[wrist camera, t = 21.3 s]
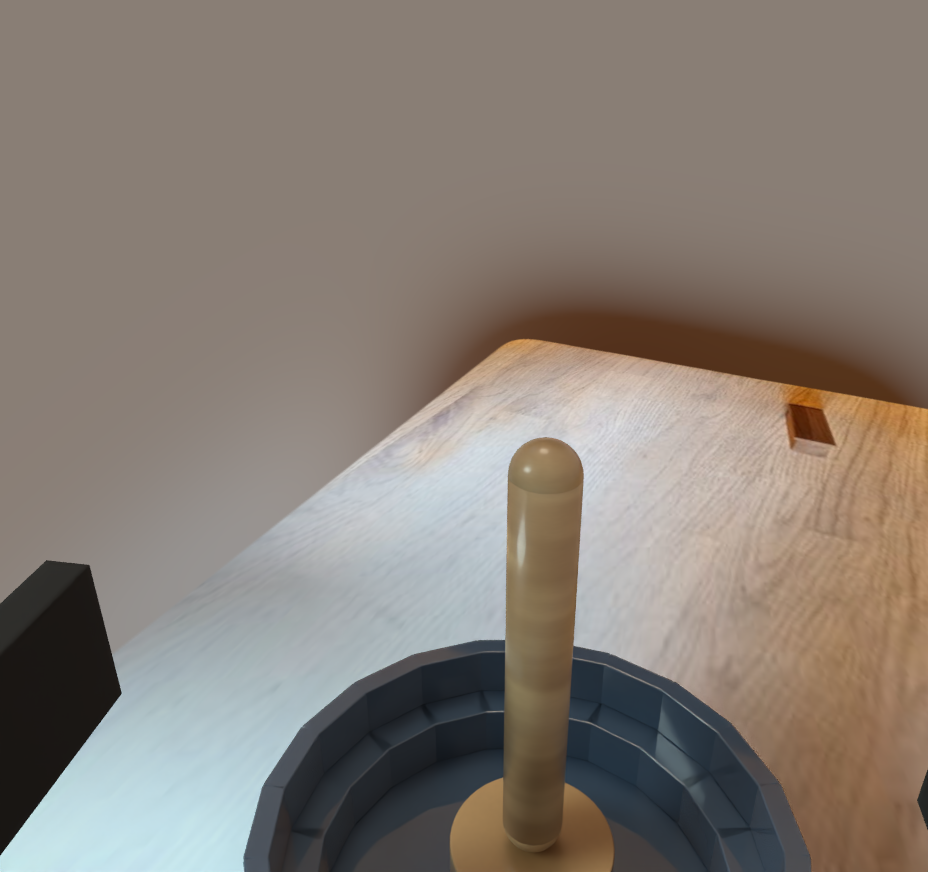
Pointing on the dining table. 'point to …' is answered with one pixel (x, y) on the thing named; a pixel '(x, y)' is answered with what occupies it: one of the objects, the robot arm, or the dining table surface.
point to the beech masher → (537, 687)
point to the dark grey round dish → (481, 761)
